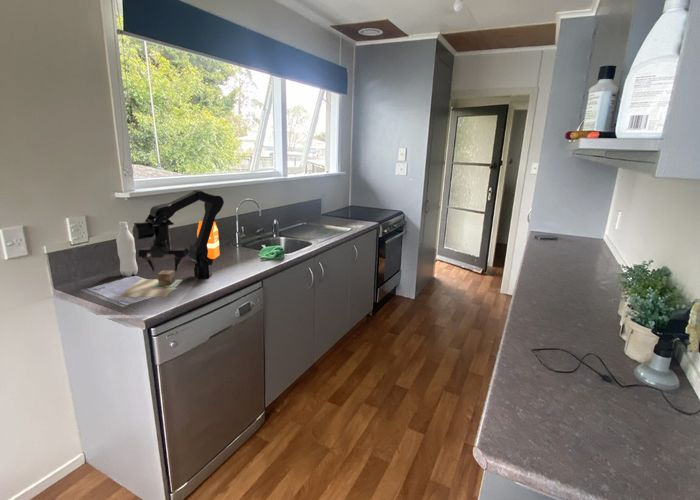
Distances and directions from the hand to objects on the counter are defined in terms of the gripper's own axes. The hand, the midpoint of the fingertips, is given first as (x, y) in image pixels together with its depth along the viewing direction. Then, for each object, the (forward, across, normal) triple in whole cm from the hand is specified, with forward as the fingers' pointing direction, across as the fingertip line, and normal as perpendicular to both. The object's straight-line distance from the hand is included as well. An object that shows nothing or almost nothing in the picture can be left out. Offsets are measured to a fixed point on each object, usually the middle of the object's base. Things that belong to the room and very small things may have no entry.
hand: (165, 271), depth 160 cm
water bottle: (+7, -22, +14) cm, 27 cm away
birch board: (+7, -4, -5) cm, 9 cm away
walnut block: (+6, 0, 0) cm, 6 cm away
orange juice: (+7, +6, +45) cm, 46 cm away
